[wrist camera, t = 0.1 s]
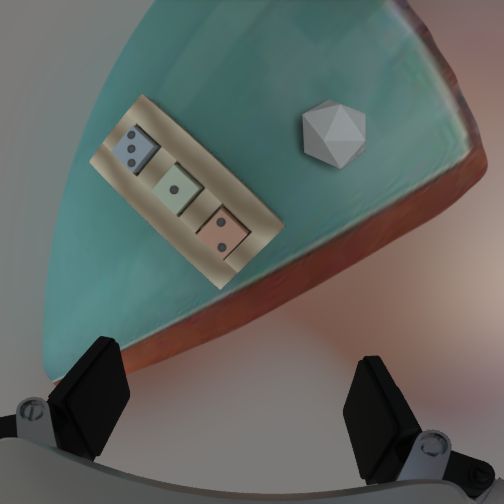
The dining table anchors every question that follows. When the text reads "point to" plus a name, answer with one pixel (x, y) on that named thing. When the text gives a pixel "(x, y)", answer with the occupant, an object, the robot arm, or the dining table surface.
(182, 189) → the button one
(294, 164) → the dining table surface
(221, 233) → the button two
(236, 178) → the button board
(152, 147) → the button three
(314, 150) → the die
